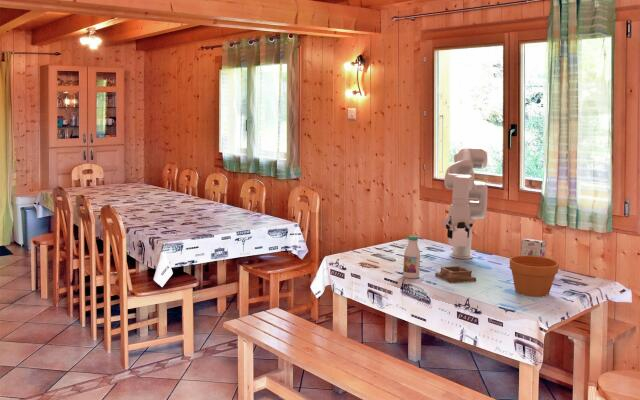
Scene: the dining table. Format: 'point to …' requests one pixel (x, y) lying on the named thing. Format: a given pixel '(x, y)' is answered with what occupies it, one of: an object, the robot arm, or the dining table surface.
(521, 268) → the flower pot
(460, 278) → the bottle stand
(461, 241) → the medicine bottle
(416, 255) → the milk bottle
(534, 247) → the candy bar box
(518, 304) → the dining table surface
